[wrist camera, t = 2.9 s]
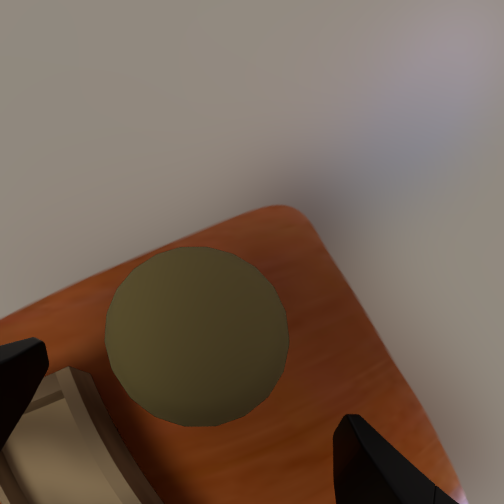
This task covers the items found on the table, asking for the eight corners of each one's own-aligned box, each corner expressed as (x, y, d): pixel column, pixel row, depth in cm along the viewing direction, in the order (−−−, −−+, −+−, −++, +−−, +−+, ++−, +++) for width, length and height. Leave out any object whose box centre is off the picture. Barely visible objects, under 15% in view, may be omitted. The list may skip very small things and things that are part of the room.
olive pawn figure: (225, 307, 18) (238, 183, 9) (277, 389, 16) (366, 359, 6) (139, 349, 16) (49, 267, 6) (188, 438, 14) (141, 489, 4)
